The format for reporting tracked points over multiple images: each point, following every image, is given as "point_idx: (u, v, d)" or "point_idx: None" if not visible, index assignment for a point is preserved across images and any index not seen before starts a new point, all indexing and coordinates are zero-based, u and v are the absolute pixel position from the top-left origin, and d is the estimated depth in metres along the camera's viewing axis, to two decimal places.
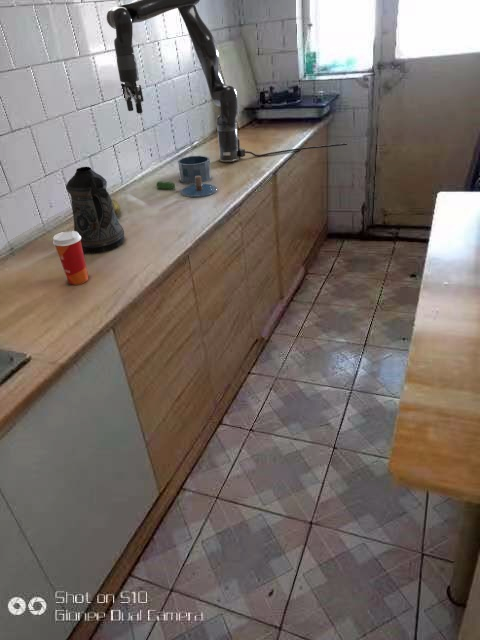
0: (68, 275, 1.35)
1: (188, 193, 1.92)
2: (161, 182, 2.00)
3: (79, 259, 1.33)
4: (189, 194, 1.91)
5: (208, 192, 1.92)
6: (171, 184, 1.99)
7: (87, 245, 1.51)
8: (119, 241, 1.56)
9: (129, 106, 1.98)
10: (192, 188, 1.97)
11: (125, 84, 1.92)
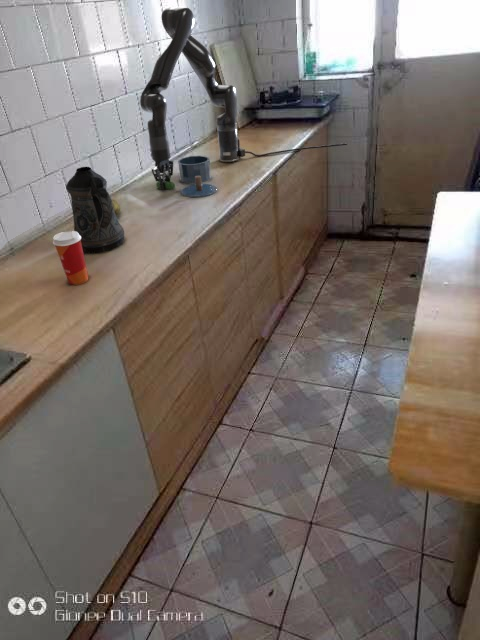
0: (68, 275, 1.35)
1: (188, 193, 1.92)
2: None
3: (79, 259, 1.33)
4: (189, 194, 1.91)
5: (208, 192, 1.92)
6: (171, 184, 1.99)
7: (87, 245, 1.51)
8: (119, 241, 1.56)
9: None
10: (192, 188, 1.97)
11: None
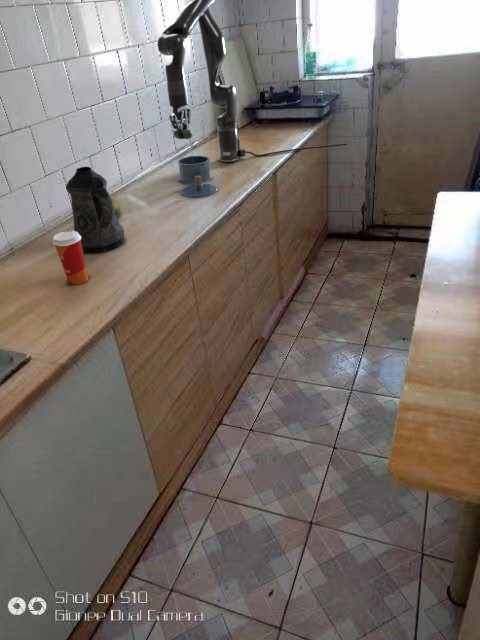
0: (68, 275, 1.35)
1: (188, 193, 1.92)
2: None
3: (79, 259, 1.33)
4: (189, 194, 1.91)
5: (208, 192, 1.92)
6: (189, 132, 1.95)
7: (87, 245, 1.51)
8: (119, 241, 1.56)
9: None
10: (192, 188, 1.97)
11: None
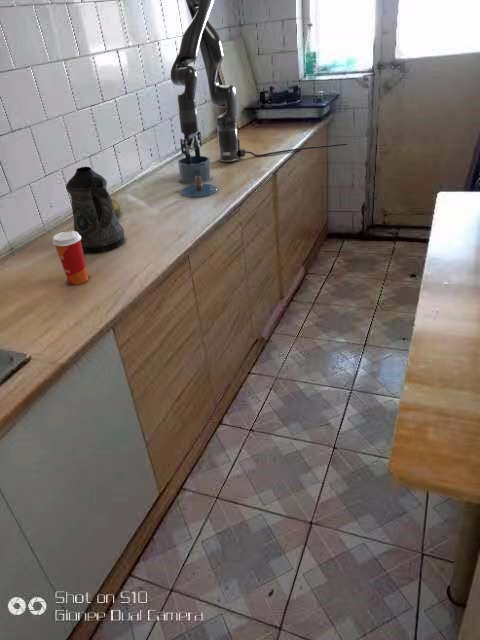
0: (68, 275, 1.35)
1: (188, 193, 1.92)
2: None
3: (79, 259, 1.33)
4: (189, 194, 1.91)
5: (208, 192, 1.92)
6: None
7: (87, 245, 1.51)
8: (119, 241, 1.56)
9: (196, 153, 2.08)
10: (192, 188, 1.97)
11: None
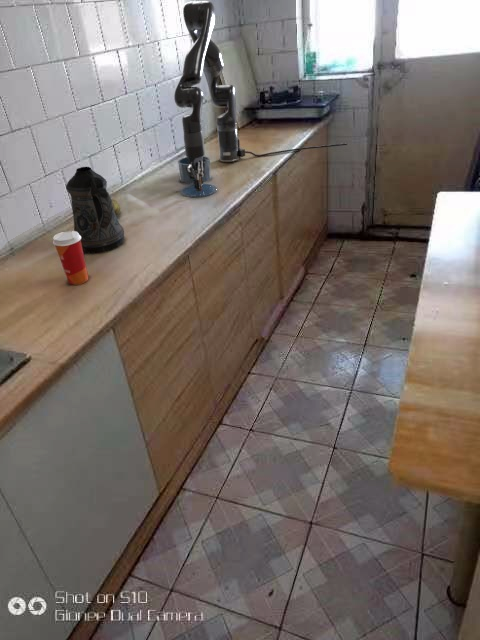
0: (68, 275, 1.35)
1: (188, 193, 1.92)
2: None
3: (79, 259, 1.33)
4: (189, 194, 1.91)
5: (208, 192, 1.92)
6: None
7: (87, 245, 1.51)
8: (119, 241, 1.56)
9: None
10: (192, 188, 1.97)
11: None
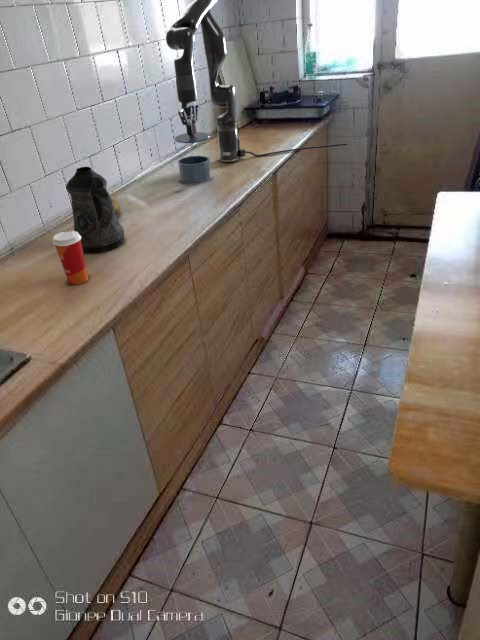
0: (68, 275, 1.35)
1: (181, 139, 1.92)
2: None
3: (79, 259, 1.33)
4: (182, 140, 1.91)
5: (201, 138, 1.92)
6: None
7: (87, 245, 1.51)
8: (119, 241, 1.56)
9: None
10: (185, 135, 1.97)
11: None
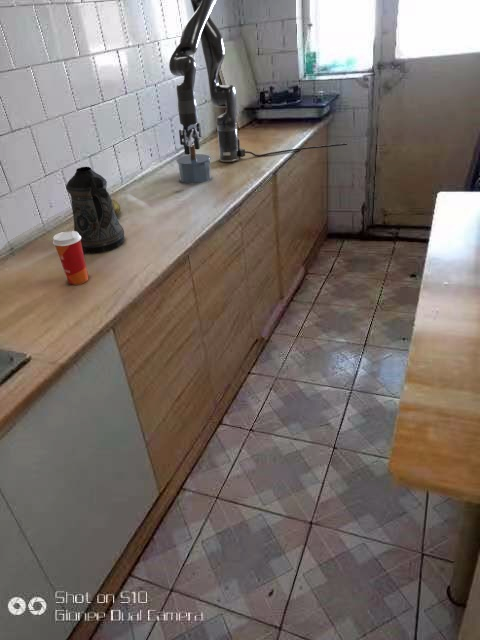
0: (68, 275, 1.35)
1: (183, 161, 2.03)
2: None
3: (79, 259, 1.33)
4: (183, 162, 2.02)
5: (202, 160, 2.02)
6: None
7: (87, 245, 1.51)
8: (119, 241, 1.56)
9: (195, 145, 2.06)
10: (186, 157, 2.08)
11: None
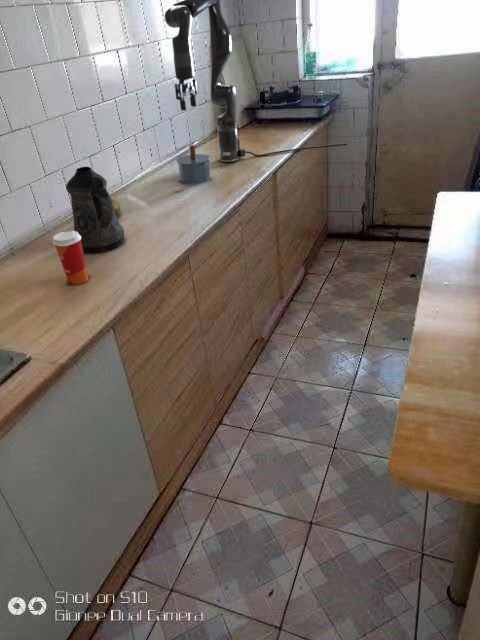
0: (68, 275, 1.35)
1: (183, 161, 2.03)
2: None
3: (79, 259, 1.33)
4: (183, 162, 2.02)
5: (202, 160, 2.02)
6: None
7: (87, 245, 1.51)
8: (119, 241, 1.56)
9: (191, 101, 2.03)
10: (186, 157, 2.08)
11: None
